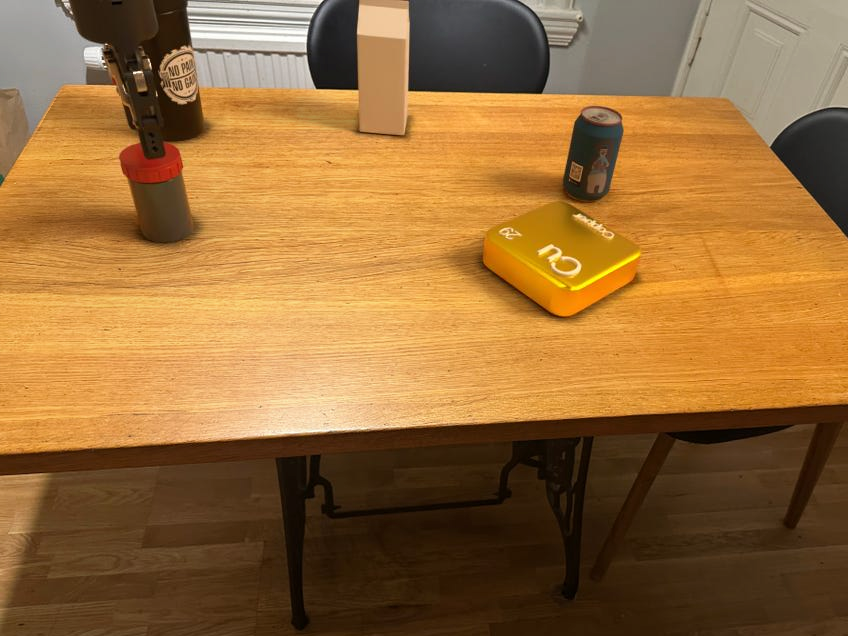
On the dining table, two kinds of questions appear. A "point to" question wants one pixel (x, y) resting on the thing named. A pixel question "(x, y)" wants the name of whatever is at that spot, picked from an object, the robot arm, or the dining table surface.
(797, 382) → the dining table surface
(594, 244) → the element tile
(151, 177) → the jar lid
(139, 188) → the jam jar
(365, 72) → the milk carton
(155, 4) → the water bottle
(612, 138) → the soda can
